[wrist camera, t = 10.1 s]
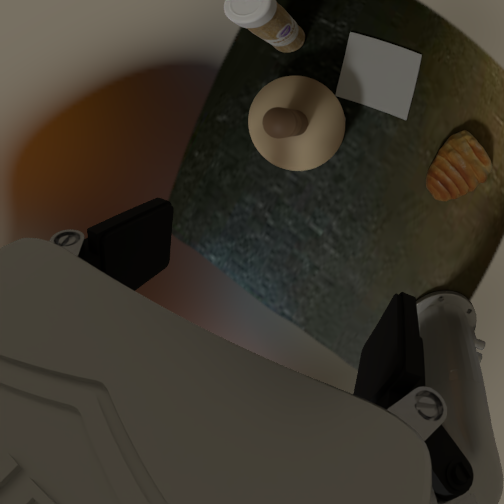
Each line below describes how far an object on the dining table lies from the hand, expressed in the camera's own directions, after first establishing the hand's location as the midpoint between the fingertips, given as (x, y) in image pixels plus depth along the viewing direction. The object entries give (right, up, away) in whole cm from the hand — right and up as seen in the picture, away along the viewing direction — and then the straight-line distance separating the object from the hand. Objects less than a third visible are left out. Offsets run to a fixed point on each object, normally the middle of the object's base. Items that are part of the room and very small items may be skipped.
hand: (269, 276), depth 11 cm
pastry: (+25, +12, +17) cm, 32 cm away
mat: (+14, +22, +17) cm, 31 cm away
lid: (+4, +15, +20) cm, 25 cm away
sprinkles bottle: (+4, +28, +19) cm, 34 cm away
